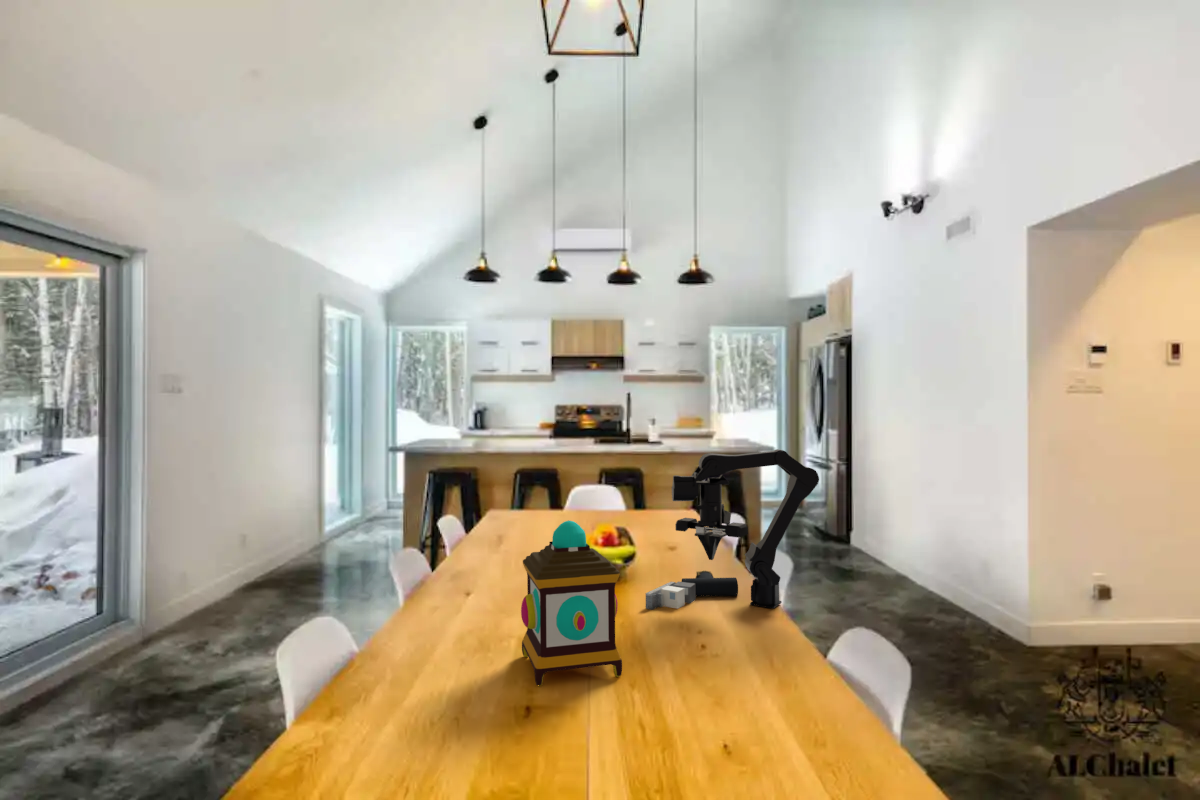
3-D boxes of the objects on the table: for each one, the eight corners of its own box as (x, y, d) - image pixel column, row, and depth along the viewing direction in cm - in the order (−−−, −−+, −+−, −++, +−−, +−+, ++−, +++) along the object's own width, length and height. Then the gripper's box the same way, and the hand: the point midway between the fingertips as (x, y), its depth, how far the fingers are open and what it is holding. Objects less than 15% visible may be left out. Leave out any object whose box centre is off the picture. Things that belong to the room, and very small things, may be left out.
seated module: (695, 599, 189) (695, 583, 189) (690, 603, 185) (690, 587, 185) (678, 597, 191) (678, 581, 191) (673, 601, 188) (672, 584, 188)
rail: (680, 597, 191) (680, 583, 191) (655, 610, 180) (655, 594, 180) (671, 595, 193) (671, 581, 193) (645, 608, 181) (645, 593, 181)
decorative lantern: (530, 691, 130) (528, 532, 130) (514, 654, 149) (513, 515, 149) (631, 679, 135) (630, 526, 135) (603, 645, 154) (602, 510, 154)
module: (684, 605, 184) (684, 588, 184) (677, 608, 181) (677, 591, 181) (668, 602, 187) (668, 585, 187) (660, 605, 184) (660, 589, 184)
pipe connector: (677, 569, 202) (728, 568, 203) (677, 587, 202) (728, 586, 203) (684, 580, 191) (738, 579, 191) (684, 599, 191) (738, 598, 191)
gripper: (755, 499, 186) (756, 558, 186) (692, 495, 196) (693, 550, 196) (739, 505, 176) (739, 566, 176) (674, 499, 187) (674, 557, 187)
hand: (711, 559), depth 184 cm, fingers closed
